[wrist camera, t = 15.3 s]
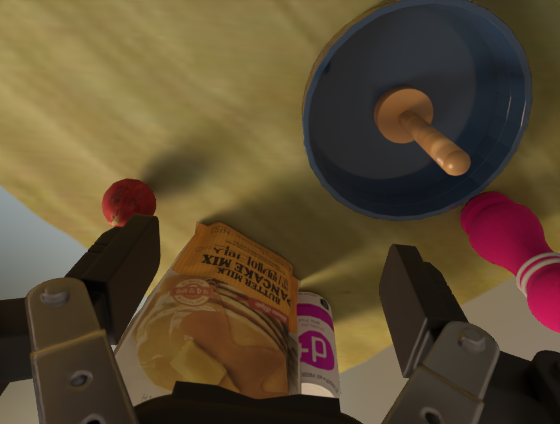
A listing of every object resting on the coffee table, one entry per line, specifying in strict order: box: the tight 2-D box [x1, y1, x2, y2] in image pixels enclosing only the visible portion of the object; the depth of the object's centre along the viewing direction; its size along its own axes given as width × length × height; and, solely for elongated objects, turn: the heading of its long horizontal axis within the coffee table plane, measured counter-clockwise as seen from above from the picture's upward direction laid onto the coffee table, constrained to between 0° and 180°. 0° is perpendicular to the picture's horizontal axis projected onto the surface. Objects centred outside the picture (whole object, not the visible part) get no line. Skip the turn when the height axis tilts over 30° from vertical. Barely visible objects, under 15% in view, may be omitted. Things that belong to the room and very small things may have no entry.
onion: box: [102, 178, 156, 227], centre depth 43 cm, size 6×6×8 cm
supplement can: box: [297, 292, 341, 398], centre depth 48 cm, size 8×8×15 cm
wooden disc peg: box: [374, 85, 471, 176], centre depth 33 cm, size 6×6×17 cm
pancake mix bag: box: [113, 221, 302, 407], centre depth 38 cm, size 7×19×28 cm, turn 56°
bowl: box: [302, 0, 532, 221], centre depth 38 cm, size 21×21×6 cm
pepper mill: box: [460, 192, 560, 333], centre depth 37 cm, size 7×7×20 cm
